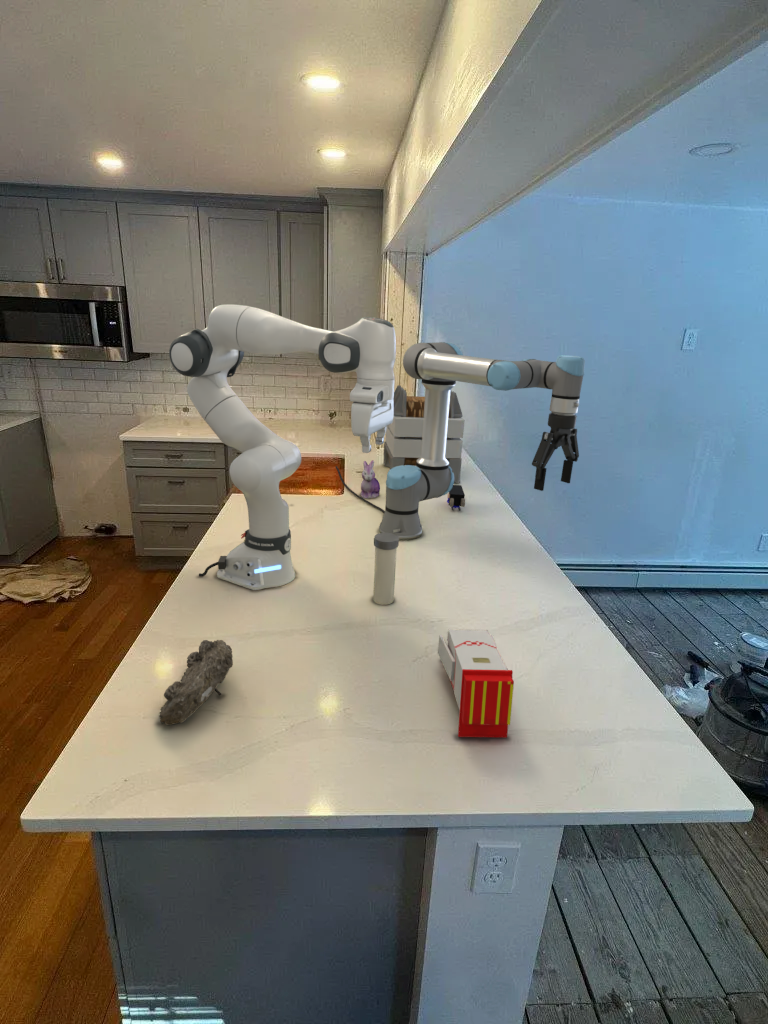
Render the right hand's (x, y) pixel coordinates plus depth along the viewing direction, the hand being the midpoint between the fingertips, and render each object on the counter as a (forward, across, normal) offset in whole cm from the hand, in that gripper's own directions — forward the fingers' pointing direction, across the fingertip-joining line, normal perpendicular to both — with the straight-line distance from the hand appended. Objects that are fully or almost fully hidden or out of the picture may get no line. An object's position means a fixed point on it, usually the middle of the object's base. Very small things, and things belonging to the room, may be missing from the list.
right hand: (552, 485), depth 166 cm
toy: (+28, -62, -26) cm, 72 cm away
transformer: (+28, +46, +101) cm, 115 cm away
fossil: (+28, -105, +7) cm, 109 cm away
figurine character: (+28, +24, +57) cm, 68 cm away
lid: (+10, -50, +15) cm, 53 cm away
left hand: (-15, -55, +16) cm, 59 cm away
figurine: (+28, +4, +87) cm, 92 cm away
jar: (+28, -50, +15) cm, 60 cm away
